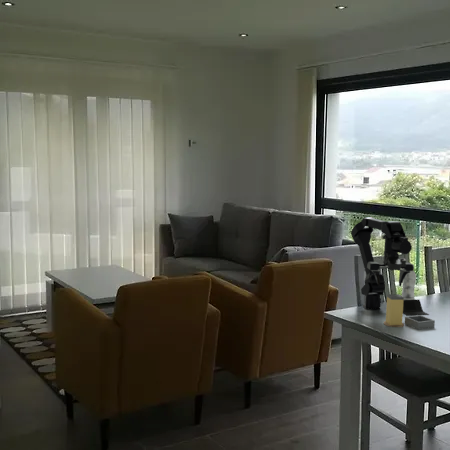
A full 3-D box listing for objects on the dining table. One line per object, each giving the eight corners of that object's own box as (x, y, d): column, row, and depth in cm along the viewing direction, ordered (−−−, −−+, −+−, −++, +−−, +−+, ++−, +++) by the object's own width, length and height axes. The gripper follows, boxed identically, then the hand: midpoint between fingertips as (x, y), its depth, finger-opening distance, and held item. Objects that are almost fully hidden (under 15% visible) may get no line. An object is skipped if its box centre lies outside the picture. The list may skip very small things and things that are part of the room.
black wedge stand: (410, 314, 258) (404, 293, 263) (400, 321, 263) (394, 300, 269) (431, 316, 262) (425, 295, 267) (421, 323, 268) (415, 302, 273)
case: (391, 319, 255) (391, 311, 255) (407, 318, 258) (407, 310, 258) (418, 330, 240) (418, 322, 239) (434, 328, 243) (434, 320, 243)
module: (385, 321, 249) (387, 294, 247) (397, 321, 249) (399, 294, 248) (390, 325, 244) (391, 297, 242) (402, 325, 244) (403, 297, 243)
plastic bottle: (416, 307, 278) (418, 264, 275) (412, 310, 272) (414, 266, 269) (402, 304, 281) (404, 262, 279) (398, 307, 275) (400, 264, 273)
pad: (386, 328, 242) (386, 325, 242) (381, 322, 250) (381, 320, 250) (406, 328, 243) (406, 326, 242) (400, 323, 250) (400, 320, 250)
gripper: (374, 253, 251) (372, 289, 253) (419, 253, 251) (416, 290, 253) (367, 248, 262) (366, 284, 264) (410, 249, 262) (408, 284, 264)
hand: (389, 285), depth 261 cm, fingers open, 9 cm apart
